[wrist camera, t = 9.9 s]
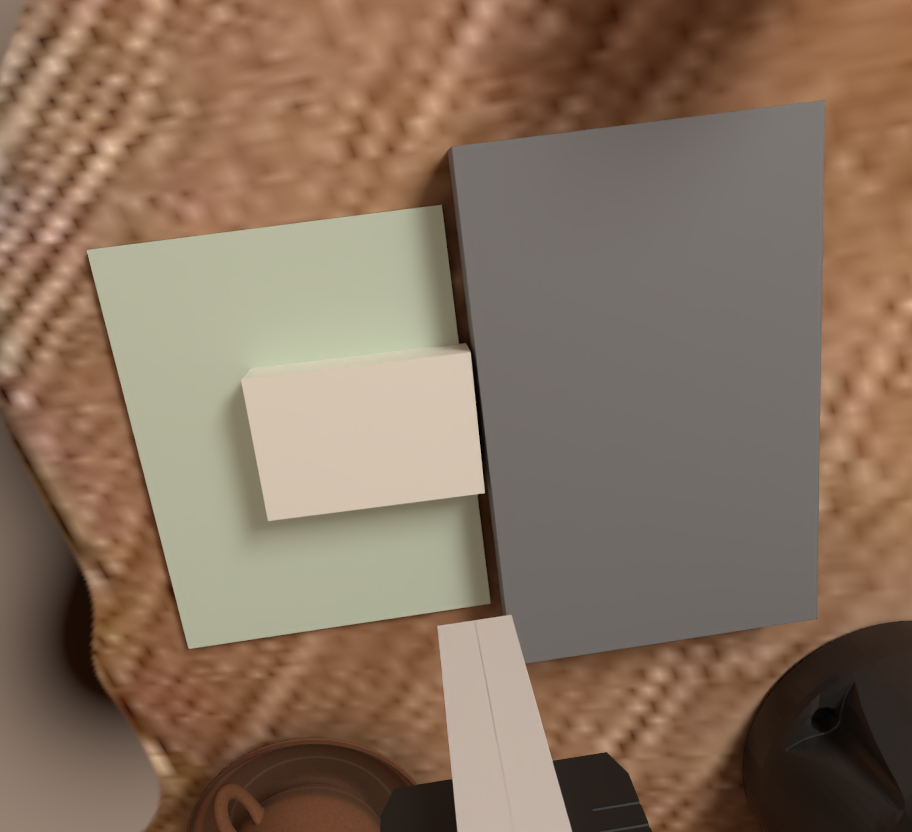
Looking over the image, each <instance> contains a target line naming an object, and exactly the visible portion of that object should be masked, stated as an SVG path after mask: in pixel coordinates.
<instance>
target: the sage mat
mask: <svg viewBox="0 0 912 832" xmlns="http://www.w3.org/2000/svg"><path fill="white" fill-rule="evenodd" d="M87 254H88V257H89V261H90V265H91V269H92V273H93V277H94V281H95V285H96V289H97V293H98V297H99V301H100V304H101V308H102V312H103V316H104V320H105V324H106V328H107V332H108V336H109V340H110V344H111V347H112V351H113V355H114V359H115V363H116V367H117V371H118V375H119V379H120V383H121V387H122V390H123V394H124V398H125V402H126V406H127V410H128V414H129V418H130V422H131V426H132V430H133V433H134V437H135V441H136V445H137V449H138V453H139V457H140V461H141V465H142V469H143V473H144V476H145V480H146V484H147V488H148V492H149V496H150V500H151V504H152V508H153V512H154V516H155V519H156V523H157V527H158V531H159V535H160V539H161V543H162V547H163V551H164V555H165V559H166V562H167V566H168V570H169V574H170V578H171V582H172V586H173V590H174V594H175V598H176V602H177V606H178V609H179V613H180V617H181V621H182V625H183V629H184V633H185V637H186V641H187V645H188V649H191V648H198V647H205V646H212V645H218V644H225V643H232V642H238V641H245V640H252V639H258V638H265V637H272V636H278V635H285V634H292V633H298V632H305V631H312V630H318V629H325V628H332V627H338V626H345V625H352V624H358V623H365V622H372V621H378V620H385V619H392V618H398V617H405V616H412V615H418V614H425V613H432V612H438V611H445V610H452V609H458V608H465V607H472V606H479V605H485V604H491V602H490V593H489V585H488V577H487V569H486V561H485V553H484V545H483V536H482V528H481V520H480V512H479V504H478V496H477V494H475V495H467V496H460V497H452V498H444V499H436V500H428V501H421V502H413V503H405V504H397V505H389V506H382V507H374V508H366V509H358V510H350V511H343V512H335V513H327V514H319V515H311V516H304V517H296V518H288V519H280V520H273V521H268V518H267V513H266V508H265V503H264V497H263V492H262V487H261V482H260V476H259V471H258V466H257V461H256V455H255V450H254V445H253V440H252V435H251V429H250V424H249V419H248V414H247V408H246V403H245V398H244V393H243V388H242V382H241V379H242V378H243V377H244V376H245V375H246V373H247V372H248V371H249V370H250V369H253V368H261V367H269V366H278V365H286V364H295V363H303V362H311V361H320V360H328V359H337V358H345V357H353V356H362V355H370V354H378V353H387V352H395V351H404V350H412V349H420V348H429V347H437V346H446V345H454V344H459V341H458V333H457V325H456V316H455V308H454V300H453V292H452V284H451V276H450V268H449V259H448V251H447V243H446V235H445V227H444V219H443V211H442V205H435V206H427V207H419V208H412V209H404V210H396V211H388V212H380V213H373V214H365V215H357V216H349V217H341V218H333V219H326V220H318V221H310V222H302V223H294V224H287V225H279V226H271V227H263V228H255V229H247V230H240V231H232V232H224V233H216V234H208V235H201V236H193V237H185V238H177V239H169V240H161V241H154V242H146V243H138V244H130V245H122V246H115V247H107V248H99V249H91V250H87Z"/></svg>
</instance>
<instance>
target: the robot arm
mask: <svg viewBox="0 0 912 832" xmlns="http://www.w3.org/2000/svg"><path fill="white" fill-rule="evenodd" d="M438 636H439V646H440V657H441V667H442V677H443V688H444V698H445V708H446V718H447V729H448V739H449V749H450V760H451V770H452V779H450V780H444V781H438V782H432V783H425V784H419V785H413V786H407V787H401V788H394V789H393V791H392V793H391V796H390V798H389V800H388V802H387V804H386V806H385V808H384V810H383V812H382V814H381V820H380V832H652V831H651V828H649V825H648V821H647V818H646V816H645V813H644V811H643V808H642V806H641V805H640V803H639V799H638V796H637V794H636V791H635V789H634V786H633V784H632V781H631V779H630V776H629V774H628V773H627V772H626V771H625V770H624V769H623V768H622V767H621V766H620V765H619V764H618V763H617V762H616V761H615V760H614V759H613V758H612V757H611V756H610V755H609V754H608V753H607V752H605V753H599V754H593V755H587V756H580V757H574V758H568V759H562V760H555V761H552V758H551V754H550V751H549V747H548V744H547V740H546V736H545V733H544V729H543V726H542V722H541V719H540V715H539V711H538V708H537V704H536V701H535V697H534V693H533V690H532V686H531V683H530V679H529V676H528V672H527V668H526V665H525V661H524V658H523V654H522V651H521V647H520V643H519V640H518V636H517V633H516V629H515V625H514V622H513V618H512V615H507V616H500V617H494V618H487V619H480V620H474V621H467V622H461V623H454V624H448V625H441V626H438ZM743 781H744V788H745V792H746V796H747V799H748V802H749V805H750V807H751V809H752V811H753V813H754V815H755V817H756V818H757V820H758V822H759V823H760V825H761V827H762V829H763V830H764V832H912V621H898V622H890V623H884V624H879V625H875V626H871V627H867V628H864V629H861V630H858V631H855V632H853V633H850V634H847V635H845V636H843V637H841V638H839V639H836V640H834V641H832V642H831V643H829V644H827V645H825V646H823V647H822V648H820V649H819V650H817V651H815V652H814V653H813V654H811V655H810V656H808V657H807V658H805V659H804V660H803V661H802V662H801V663H799V664H798V665H797V666H796V667H795V668H793V669H792V670H791V671H790V672H789V673H788V674H787V675H786V676H785V677H784V678H783V679H782V680H781V681H780V682H779V684H778V685H777V686H776V687H775V688H774V690H773V691H772V692H771V694H770V695H769V696H768V698H767V699H766V701H765V702H764V704H763V705H762V707H761V709H760V710H759V712H758V714H757V716H756V718H755V720H754V722H753V725H752V727H751V730H750V732H749V735H748V739H747V742H746V746H745V751H744V759H743Z"/></svg>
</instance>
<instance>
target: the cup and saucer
mask: <svg viewBox="0 0 912 832" xmlns="http://www.w3.org/2000/svg"><path fill="white" fill-rule="evenodd" d="M413 785H417V783H416V782H415V781H414V780H413V778H412V777H411V776H410V775H409V774H408V773H407V772H406V771H405V770H404V769H403V768H401V767H400V766H399V765H398V764H396V763H395V762H394V761H392V760H391V759H389V758H388V757H386V756H384V755H382V754H381V753H379V752H377V751H374V750H372V749H370V748H368V747H365V746H362V745H359V744H356V743H352V742H348V741H343V740H337V739H329V738H301V739H292V740H286V741H281V742H278V743H274V744H270V745H267V746H265V747H262V748H259V749H257V750H255V751H252V752H250V753H248V754H246V755H245V756H243V757H241V758H239V759H238V760H236V761H235V762H233V763H232V764H230V765H229V766H228V767H227V768H225V769H224V770H223V771H222V772H221V773H220V774H219V775H218V776H217V777H216V778H215V779H214V780H213V781H212V782H211V783H210V784H209V786H208V787H207V788H206V790H205V791H204V792H203V794H202V795H201V797H200V799H199V800H198V802H197V804H196V805H195V808H194V810H193V812H192V814H191V817H190V820H189V823H188V826H187V831H186V832H380V820H381V814H382V812H383V810H384V808H385V806H386V804H387V802H388V800H389V798H390V796H391V793H392V791H393V789H394V788H401V787H407V786H413Z"/></svg>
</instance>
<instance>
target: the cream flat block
mask: <svg viewBox="0 0 912 832" xmlns="http://www.w3.org/2000/svg"><path fill="white" fill-rule="evenodd" d="M241 382H242V388H243V393H244V398H245V403H246V408H247V414H248V419H249V424H250V429H251V435H252V440H253V445H254V450H255V455H256V461H257V466H258V471H259V476H260V482H261V487H262V492H263V497H264V503H265V508H266V513H267V518H268V521H273V520H280V519H288V518H296V517H304V516H311V515H319V514H327V513H335V512H343V511H350V510H358V509H366V508H374V507H382V506H389V505H397V504H405V503H413V502H421V501H428V500H436V499H444V498H452V497H460V496H467V495H475V494H483V493H485V489H484V479H483V470H482V460H481V450H480V440H479V430H478V420H477V411H476V401H475V391H474V381H473V371H472V362H471V352H470V350H469V348H468V346H467V344H466V343H462V344H454V345H446V346H437V347H429V348H420V349H412V350H404V351H395V352H387V353H378V354H370V355H362V356H353V357H345V358H337V359H328V360H320V361H311V362H303V363H295V364H286V365H278V366H269V367H261V368H253V369H250V370H249V371H248V372H247V373H246V375H245V376H244V377H243V378H242V379H241Z"/></svg>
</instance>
